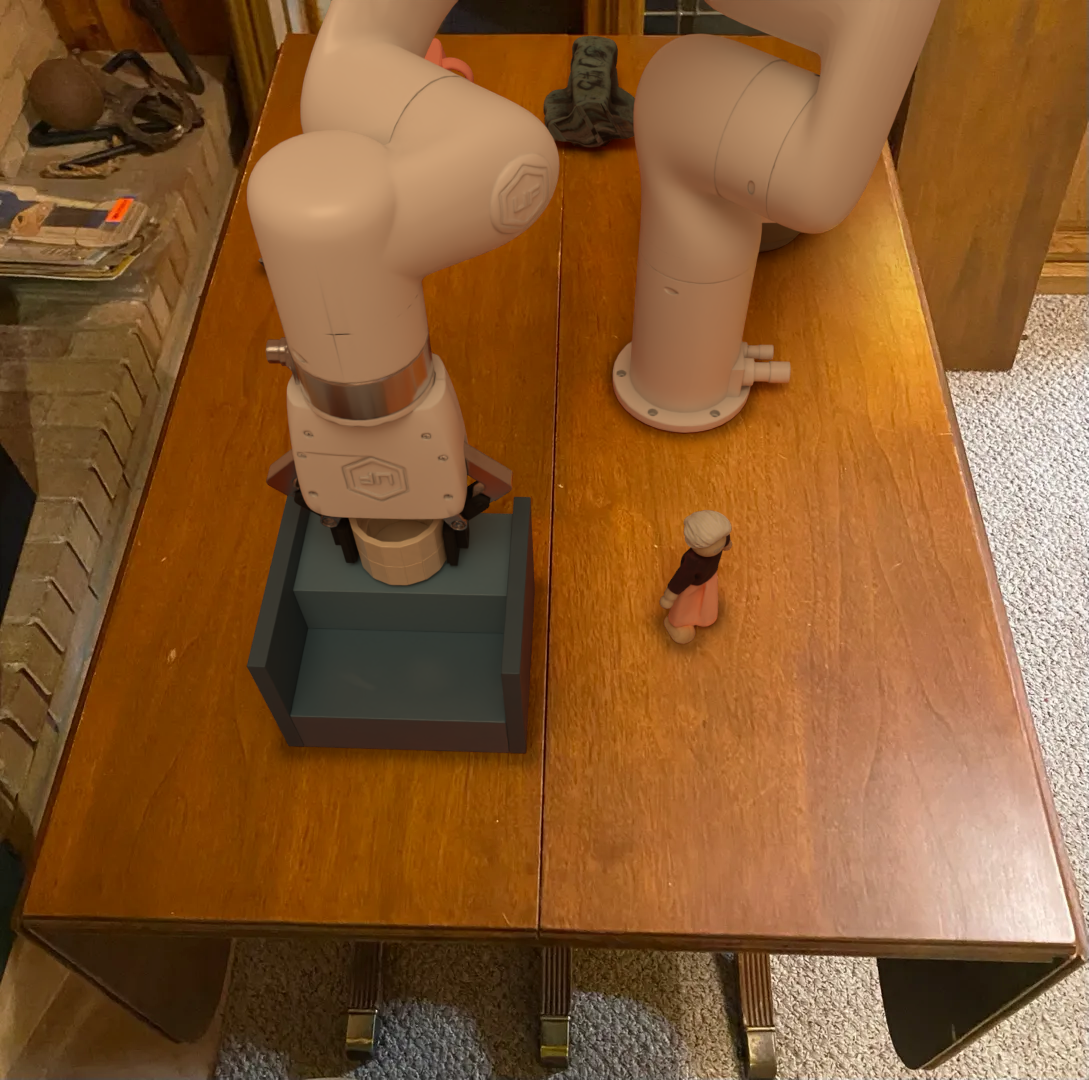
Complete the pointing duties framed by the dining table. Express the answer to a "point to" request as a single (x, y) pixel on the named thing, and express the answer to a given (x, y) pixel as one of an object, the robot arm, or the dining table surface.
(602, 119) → the sculpture
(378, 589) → the step shelf
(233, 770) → the dining table surface
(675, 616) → the grandmother figurine
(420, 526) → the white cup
